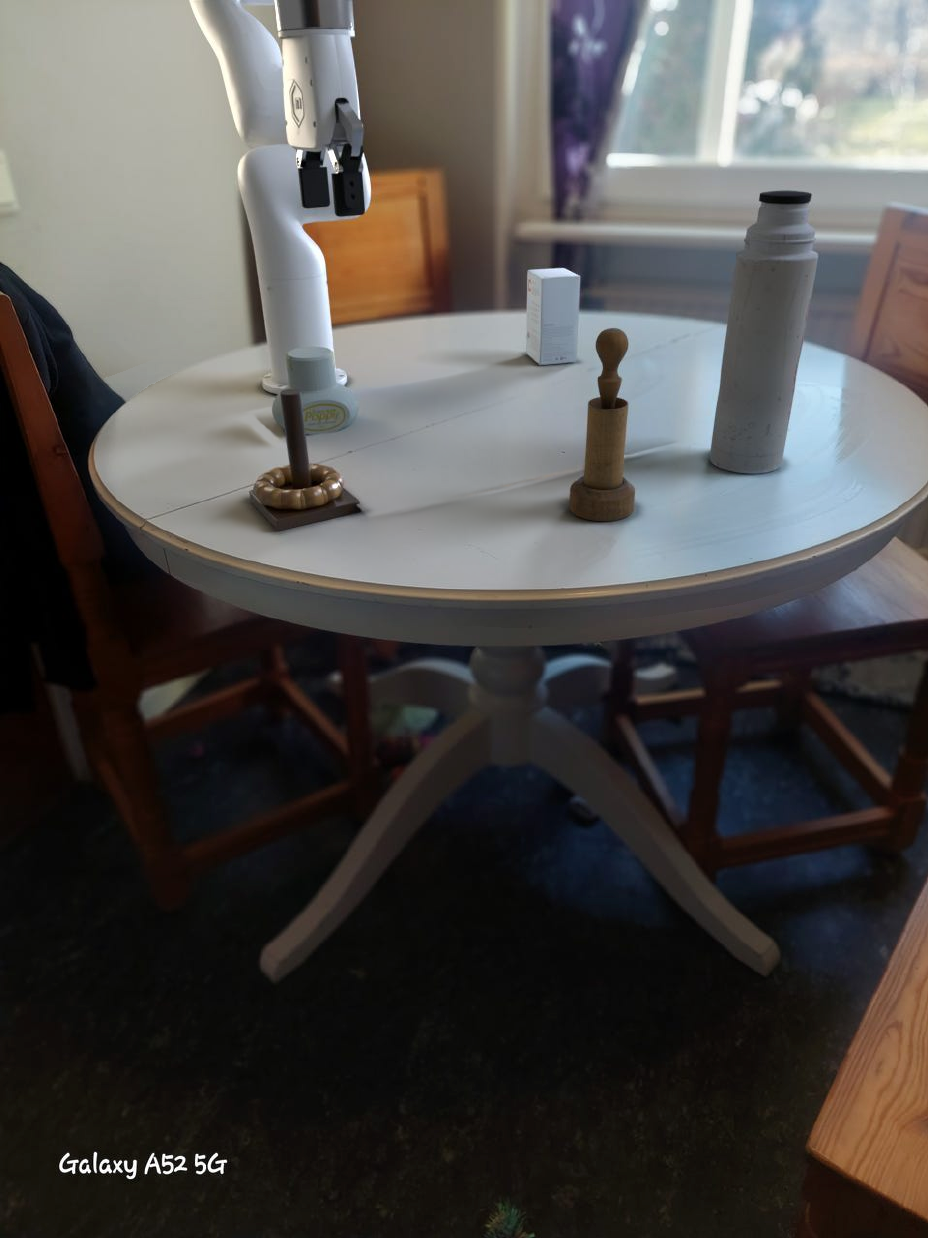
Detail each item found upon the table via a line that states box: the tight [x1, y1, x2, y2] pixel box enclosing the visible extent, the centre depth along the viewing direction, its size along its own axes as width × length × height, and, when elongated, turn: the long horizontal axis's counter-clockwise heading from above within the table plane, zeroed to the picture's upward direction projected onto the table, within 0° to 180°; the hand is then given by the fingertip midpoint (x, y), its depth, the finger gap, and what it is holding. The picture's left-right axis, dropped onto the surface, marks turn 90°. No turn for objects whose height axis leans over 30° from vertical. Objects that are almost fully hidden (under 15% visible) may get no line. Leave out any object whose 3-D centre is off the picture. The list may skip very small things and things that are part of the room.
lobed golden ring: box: [252, 463, 345, 510], centre depth 91 cm, size 9×9×2 cm
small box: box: [525, 267, 581, 366], centre depth 137 cm, size 8×6×13 cm
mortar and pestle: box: [568, 327, 636, 522], centre depth 85 cm, size 7×6×18 cm
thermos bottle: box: [709, 189, 819, 475], centre depth 93 cm, size 8×8×28 cm
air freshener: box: [271, 347, 360, 436], centre depth 110 cm, size 11×8×10 cm
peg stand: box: [248, 389, 361, 532], centre depth 89 cm, size 9×9×12 cm
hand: (332, 211), depth 94 cm, fingers open, 9 cm apart
